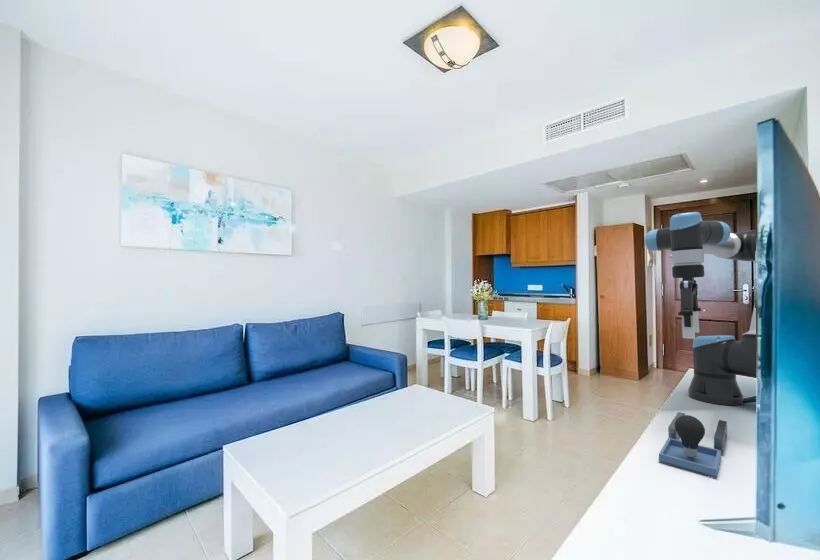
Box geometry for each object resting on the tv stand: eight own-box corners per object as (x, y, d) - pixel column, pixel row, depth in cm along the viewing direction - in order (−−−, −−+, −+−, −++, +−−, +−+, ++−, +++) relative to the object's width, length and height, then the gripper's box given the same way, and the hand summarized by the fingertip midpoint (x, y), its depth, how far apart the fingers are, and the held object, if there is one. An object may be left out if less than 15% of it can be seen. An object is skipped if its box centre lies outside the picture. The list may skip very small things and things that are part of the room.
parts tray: (668, 445, 90) (668, 437, 90) (721, 458, 83) (720, 450, 83) (659, 462, 81) (658, 453, 81) (716, 479, 74) (716, 469, 74)
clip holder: (678, 425, 103) (678, 411, 103) (727, 436, 95) (726, 421, 95) (668, 442, 91) (668, 427, 92) (723, 456, 84) (722, 439, 84)
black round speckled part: (706, 466, 78) (705, 422, 78) (675, 459, 81) (674, 416, 82) (705, 457, 83) (703, 414, 83) (675, 450, 86) (674, 410, 86)
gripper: (677, 265, 116) (680, 329, 115) (665, 264, 98) (669, 340, 97) (706, 264, 111) (710, 330, 110) (700, 263, 93) (704, 342, 92)
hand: (691, 335), depth 104 cm, fingers open, 13 cm apart
